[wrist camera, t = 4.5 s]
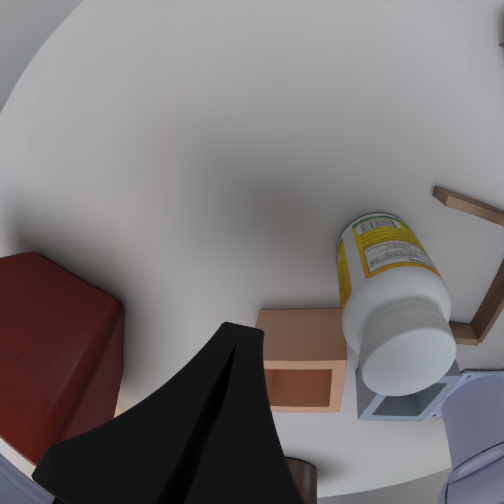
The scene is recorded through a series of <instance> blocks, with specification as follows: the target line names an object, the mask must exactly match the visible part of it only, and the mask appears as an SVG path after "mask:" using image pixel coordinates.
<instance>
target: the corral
mask: <svg viewBox="0 0 504 504" xmlns="http://www.w3.org/2000/svg"><path fill="white" fill-rule="evenodd" d="M433 196H434V197H436V198H437V199H438V200H439V201H440V202H442V203H443V204H444V205H445V206H448V207H451V208H454V209H457V210H460V211H463V212H466V213H469V214H472V215H475V216H477V217H480V218H483V219H486V220H488V221H491V222H494V223H496V224H499V225H502V226H504V211H501V210H499V209H496V208H494V207H492V206H489V205H487V204H484V203H481V202H479V201H476V200H474V199H471V198H468V197H466V196H463V195H460V194H457V193H454V192H451V191H449V190H446V189H443V188H440V187H437V186H435V189H434V192H433ZM503 307H504V260H503V262H502V264H501V267H500V269H499V271H498V273H497V275H496V277H495V279H494V282H493V284H492V286H491V288H490V290H489V292H488V293H487V295H486V297H485V299H484V301H483V303H482V305H481V306H480V308H479V310H478V312H477V314H476V315H475V317H474V319H473V320H472V322H471V324H467V323H459V322H452V321H449V322H448V324H449V326H450V329H451V331H452V334H453V336H454V339H455V342H456V344H463V345H476V346H477V345H478V344H479V343H482V341H483V340H484V338H485V337H486V335H487V334H488V332H489V331H490V329H491V328H492V326H493V324H494V323H495V321H496V319H497V318H498V316H499V314H500V313H501V311H502V309H503Z"/></svg>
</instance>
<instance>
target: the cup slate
mask: <svg viewBox="0 0 504 504" xmlns="http://www.w3.org/2000/svg"><path fill="white" fill-rule="evenodd" d="M355 375H356V390H357V411H358V420H376V421H422V420H423V419H424V418H425V417H426V416H427V415H428V414H429V413H430V412H431V411H432V410H433V408H434V407H435V406H436V405H437V404H438V403H439V402H440V401H441V400H442V399H443V397H444V396H445V395H446V394H447V393H448V392H449V391H450V389H451V388H452V387H453V386H454V385H455V383H456V382H457V381H458V380H459V379H460V377H461V373H460V371H459V368H458V365H457V362H456V360H454V362H453V364H452V366H451V367H450V369H449V370H448V371H447V373H446V374H445V375H444V376H443V377H442V378H441V379H439V380H438V381H437V382H435V383H434V384H432V385H431V386H429V387H427V388H425V389H423V390H421V391H418V392H416V393H412V394H408V395H403V396H387V395H381V394H378V393H376V392H374V391H372V390H370V389H369V388H368V387H367V386H366V385H365V383H364V381H363V379H362V374H361V366H360V365H359V366H358V368H357V370H356V372H355Z"/></svg>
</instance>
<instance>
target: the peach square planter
mask: <svg viewBox="0 0 504 504" xmlns="http://www.w3.org/2000/svg"><path fill="white" fill-rule="evenodd" d="M255 328H257V329H262V330H263V331H264V333H265V334H264V341H263V359H264V372H265V379H266V387H267V393H268V398H269V403H270V408H271V411H275V412H340V406H341V399H342V392H343V385H344V377H345V369H346V360H347V359H346V343H345V337H344V333H343V328H342V316H341V308H331V309H293V310H260V312H259V316H258V320H257V323H256V327H255Z"/></svg>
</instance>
